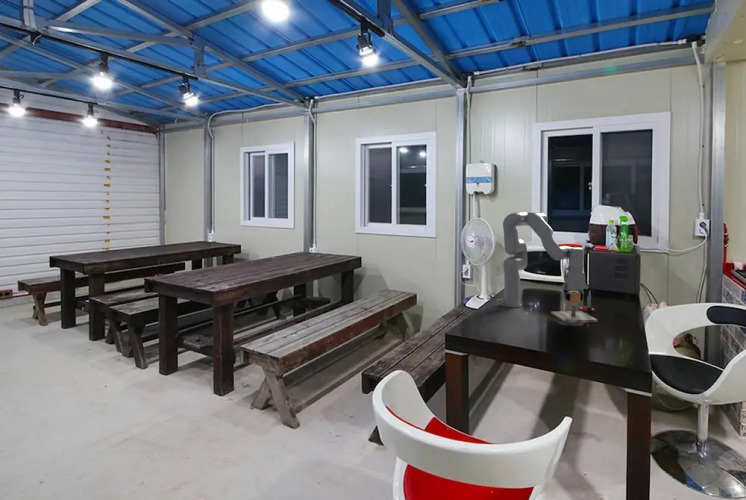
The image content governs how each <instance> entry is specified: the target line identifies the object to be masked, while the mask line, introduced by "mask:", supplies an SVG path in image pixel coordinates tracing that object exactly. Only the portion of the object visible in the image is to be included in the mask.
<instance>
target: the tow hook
mask: <svg viewBox="0 0 746 500" xmlns="http://www.w3.org/2000/svg"><path fill="white" fill-rule="evenodd" d="M591 291H592V290H588V299H587V300H588V303H587V306H579V307H578V309H579V311H582V312H589V313H591V312H593V313H594V312H595V313H596V309H595V308H593V307H591V306H592V304H591V303H592V302H591V299H592V296H591V295H592V294H591ZM583 308H585V309H583Z"/></svg>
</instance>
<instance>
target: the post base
mask: <svg viewBox="0 0 746 500" xmlns="http://www.w3.org/2000/svg"><path fill="white" fill-rule="evenodd" d="M550 315H551V316H553V317H554V318H557V319H558V320H560V321H561V322H563V323H564V324H579V323H583V324H584V323H586V324H587V323H598V319H597V318H595V317H593V316H591V315H589V314H588V313H585V311H583V310H577V305H576V304H572V305H571V311H570V310H568V311H566V310H565V311H564V310H563V311H550Z"/></svg>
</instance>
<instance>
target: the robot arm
mask: <svg viewBox="0 0 746 500" xmlns="http://www.w3.org/2000/svg"><path fill="white" fill-rule="evenodd" d="M548 220H549V219H548V216H547V215H546V214H545V213H542V212H527V211H522V212H521V211H519V212H512V213H509V214H508V215H507V216H505V218H504V219H503V221H502V229H503V243H504V244H503V245H504V251H505V253H506V254H507V255H510V257H507V258H506V259H505V260H504V261H503V263H502V264H503V265H502V267H503V271H504V272H503V274H504V281H503V282H504V285H503V286H504V289H503V290H504V292H503V297H502V298H500V299H499V298H496V299H495V300H496V303H501V306H503V307H506V308H521V307H523V306H522V305H523V304H522V303H521V302H520V297H521V296H520V295H521V292H520V291H521V277H520V273H519V271H522V270H525V269H526V268H527V267H528V262H529V261H528V247H527V244H526V242H525V240H523V239H520V238H519V234H518V233H519V232H518V230H517V227H521V226H523V227H524V226H528V227H530V228H531V230H532V231H533V232H534V233H535V234H536V235H537V237H539V239H540V240H541V244H542V246H543V249H544V250H545V252H546V253H547V254H548V256H550V257H551V258H552V259H553V260H554V261H563V260H567V259H568V266H567V267H566V268H565V269H566V271H567V272H566V274H565V280H564V283H563V284H562V285H561V286H560V288H561V290H562V292H564V293H565V300H566V301H568V302H569V301H570V294H569V293H570V291H578V292H580V293H581V299H580V302H582V301H583V299H584V294H585V293H586V291H587V290H588V289H589V288H590V287H589V285H588V284H586V274H585V272H584V257H585V254H584V252H585V250H584V248H582V247H572V246H567V245H563V246H559V245H558V244H557V243H556V242H555V240H554V238H553V234H554V230H553V229H552V227H551V226H550V225H549V224H548V223H549V221H548ZM512 255H513V256H512Z"/></svg>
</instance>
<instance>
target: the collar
mask: <svg viewBox="0 0 746 500" xmlns="http://www.w3.org/2000/svg"><path fill="white" fill-rule="evenodd" d="M569 294H570V301H568V302H570V303H581V300H580V299H581V293H580V292H579V291H577V290H571V291H570V293H569Z"/></svg>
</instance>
